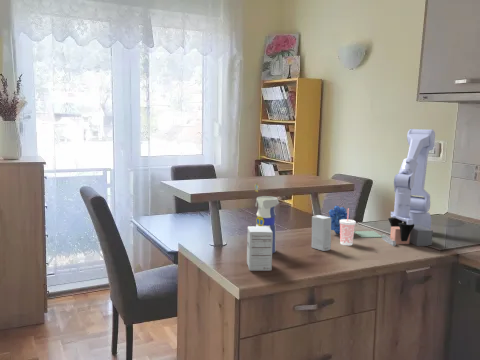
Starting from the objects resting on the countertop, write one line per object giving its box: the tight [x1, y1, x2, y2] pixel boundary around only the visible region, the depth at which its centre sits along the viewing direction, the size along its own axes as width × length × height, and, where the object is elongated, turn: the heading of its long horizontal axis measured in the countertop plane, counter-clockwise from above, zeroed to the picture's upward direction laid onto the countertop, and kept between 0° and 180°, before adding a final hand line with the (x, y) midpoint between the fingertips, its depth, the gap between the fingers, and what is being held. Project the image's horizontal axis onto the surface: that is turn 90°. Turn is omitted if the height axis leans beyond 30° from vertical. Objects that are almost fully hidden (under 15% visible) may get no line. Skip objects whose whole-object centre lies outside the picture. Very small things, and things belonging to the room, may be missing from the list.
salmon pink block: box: [389, 226, 410, 245], centre depth 178 cm, size 6×4×6 cm, turn 96°
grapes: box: [328, 205, 351, 235], centre depth 188 cm, size 12×7×12 cm, turn 117°
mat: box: [354, 230, 382, 239], centre depth 189 cm, size 9×9×1 cm
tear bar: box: [381, 233, 397, 247], centre depth 177 cm, size 1×10×2 cm, turn 7°
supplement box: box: [246, 225, 273, 272], centre depth 145 cm, size 7×7×13 cm
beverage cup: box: [339, 207, 357, 246], centre depth 173 cm, size 6×6×14 cm
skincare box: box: [311, 214, 332, 252], centre depth 166 cm, size 6×4×12 cm
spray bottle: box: [253, 182, 280, 254], centre depth 161 cm, size 8×9×25 cm
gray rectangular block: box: [409, 224, 434, 247], centre depth 178 cm, size 6×10×6 cm, turn 7°
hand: (399, 238), depth 178 cm, fingers open, 7 cm apart
